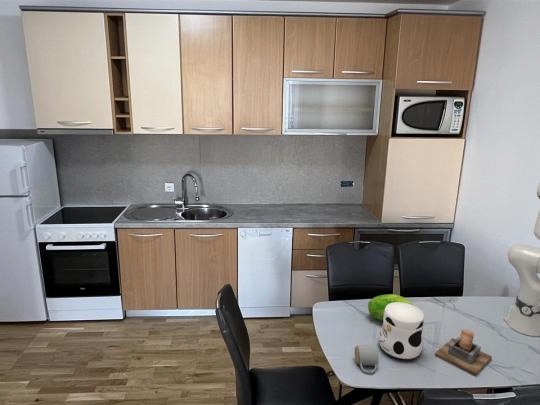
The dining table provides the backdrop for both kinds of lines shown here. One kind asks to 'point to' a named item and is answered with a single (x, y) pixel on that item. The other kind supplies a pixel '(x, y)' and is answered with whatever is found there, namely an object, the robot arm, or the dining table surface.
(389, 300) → the lettuce
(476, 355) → the stand
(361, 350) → the ceramic mug
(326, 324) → the dining table surface
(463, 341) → the post
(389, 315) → the milk container
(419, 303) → the dining table surface
